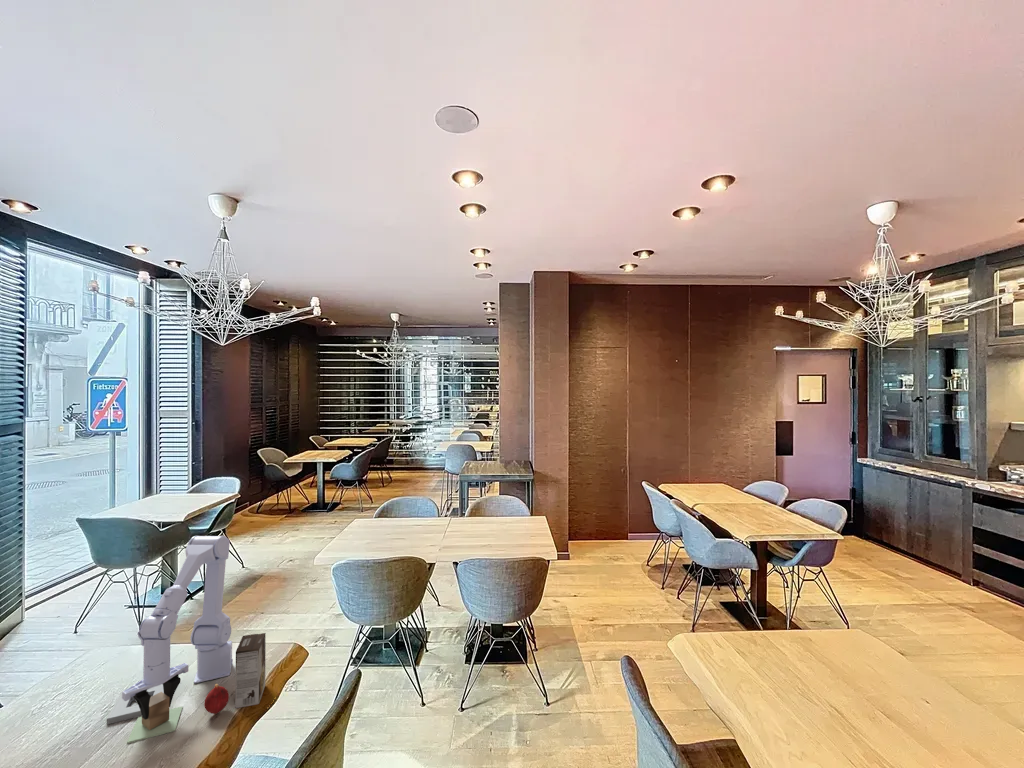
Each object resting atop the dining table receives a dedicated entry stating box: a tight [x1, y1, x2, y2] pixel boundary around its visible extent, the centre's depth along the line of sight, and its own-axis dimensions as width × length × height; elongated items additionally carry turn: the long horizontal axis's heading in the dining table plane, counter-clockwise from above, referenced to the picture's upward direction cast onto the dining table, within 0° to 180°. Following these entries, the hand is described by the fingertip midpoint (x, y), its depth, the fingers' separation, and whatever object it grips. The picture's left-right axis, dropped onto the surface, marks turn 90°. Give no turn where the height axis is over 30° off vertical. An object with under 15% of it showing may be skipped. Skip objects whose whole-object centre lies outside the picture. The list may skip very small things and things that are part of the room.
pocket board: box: [106, 684, 164, 725], centre depth 132 cm, size 12×12×2 cm
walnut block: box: [142, 692, 170, 730], centre depth 124 cm, size 4×4×6 cm
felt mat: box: [126, 706, 183, 744], centre depth 124 cm, size 10×10×1 cm
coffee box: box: [234, 632, 267, 709], centre depth 136 cm, size 9×6×16 cm
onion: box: [203, 683, 230, 715], centre depth 129 cm, size 6×6×8 cm
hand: (156, 711), depth 124 cm, fingers closed on walnut block, 4 cm apart
